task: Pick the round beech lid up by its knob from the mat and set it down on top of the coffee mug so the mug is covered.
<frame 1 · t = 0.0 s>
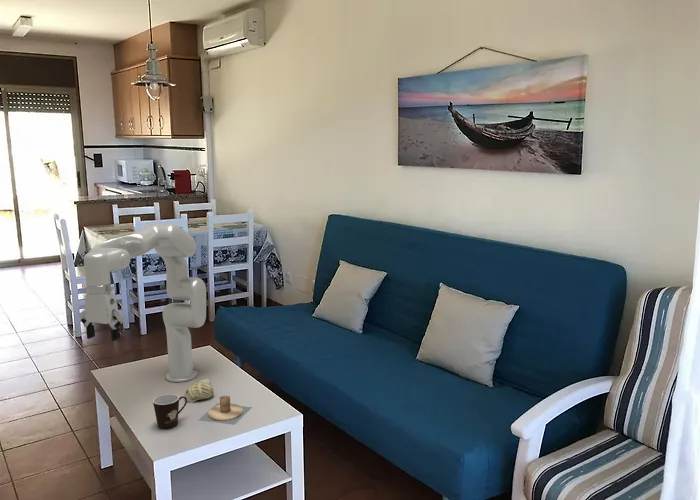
hand: (103, 338, 198), 31 cm above the table, tool pointing down, fingers open, 9 cm apart
seashell: (200, 399, 224), on the table
lid: (225, 413, 210), point 1 cm above the table, touching mat
coffee mug: (172, 426, 203), on the table
mat: (225, 415, 210), on the table
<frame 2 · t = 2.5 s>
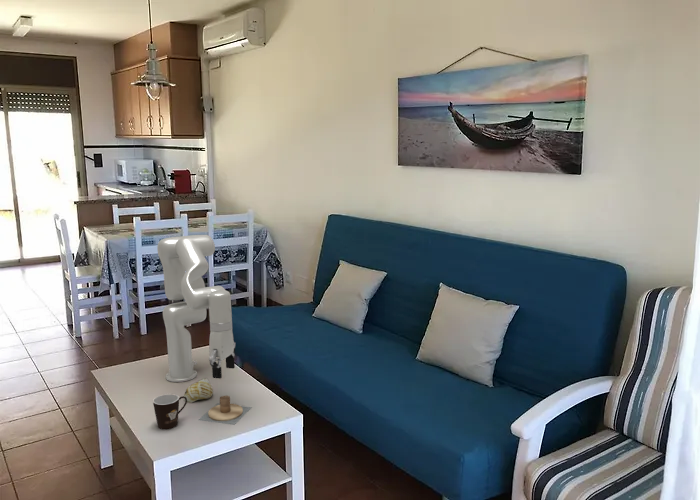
hand: (223, 372, 207), 16 cm above the table, tool pointing down, fingers open, 9 cm apart
nothing on the table moved.
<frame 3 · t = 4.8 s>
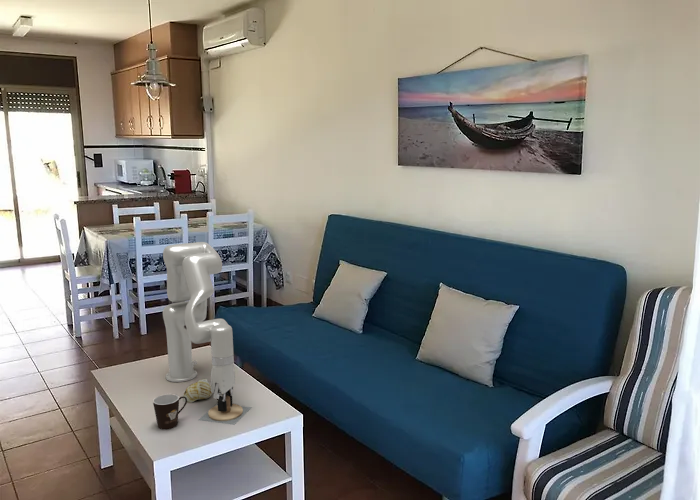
hand: (225, 408, 210), 3 cm above the table, tool pointing down, fingers closed on lid, 3 cm apart
lid: (225, 413, 210), point 1 cm above the table, touching gripper, mat
everything else where it was.
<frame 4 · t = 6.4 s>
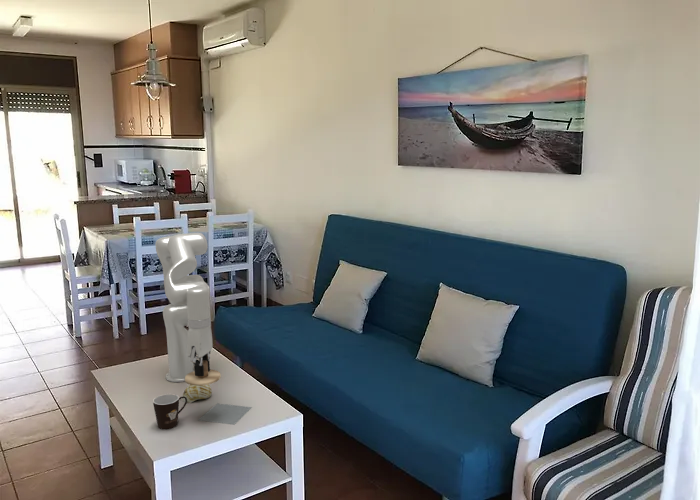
hand: (202, 373, 204), 17 cm above the table, tool pointing down, fingers closed on lid, 3 cm apart
lid: (203, 378, 205), point 15 cm above the table, touching gripper
everything else where it was.
when the fingers open (13 cm above the table, at t = 8.3 s): lid drops 1 cm, resting on coffee mug.
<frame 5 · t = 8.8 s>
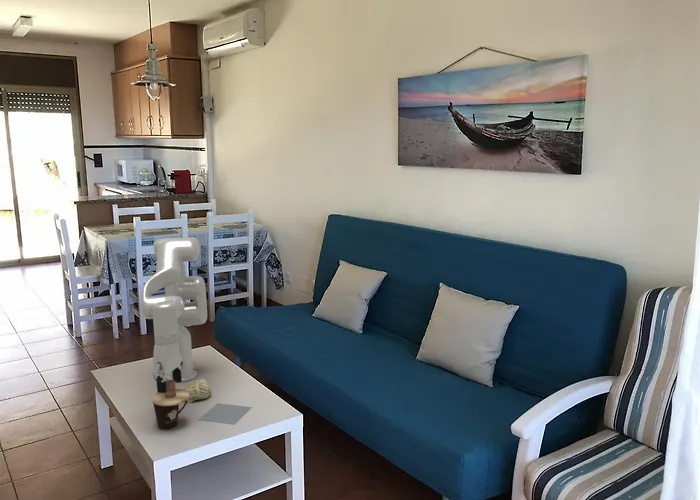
hand: (169, 386, 200), 14 cm above the table, tool pointing down, fingers open, 8 cm apart
lid: (170, 398, 201), point 10 cm above the table, touching coffee mug
coffee mug: (172, 426, 203), on the table, touching lid
everything else where it was.
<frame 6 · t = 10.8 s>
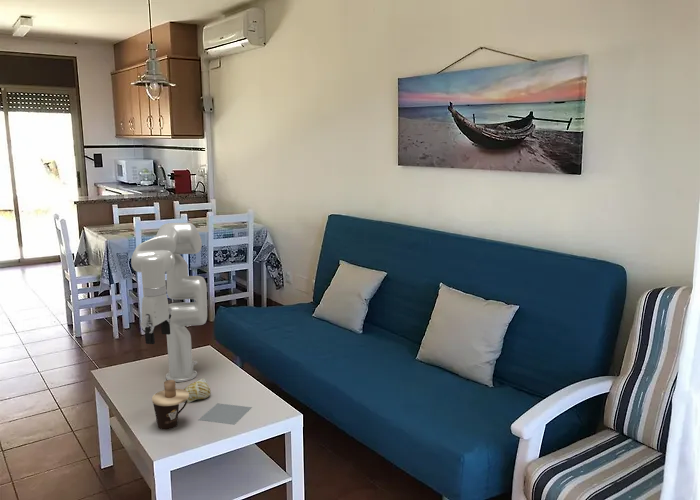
hand: (158, 338, 204), 29 cm above the table, tool pointing down, fingers open, 9 cm apart
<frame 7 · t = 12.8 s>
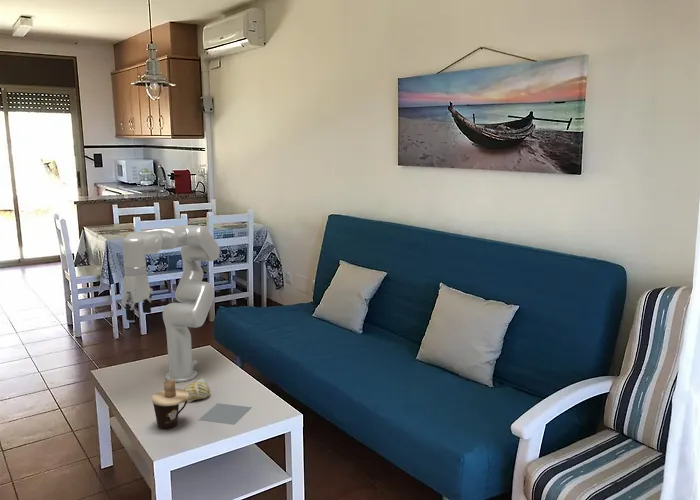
hand: (139, 316, 217), 33 cm above the table, tool pointing down, fingers open, 9 cm apart
at the end: lid 0.1 cm from the coffee mug (horizontally); lid point 10.0 cm above the table; lid tilted 0° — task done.
